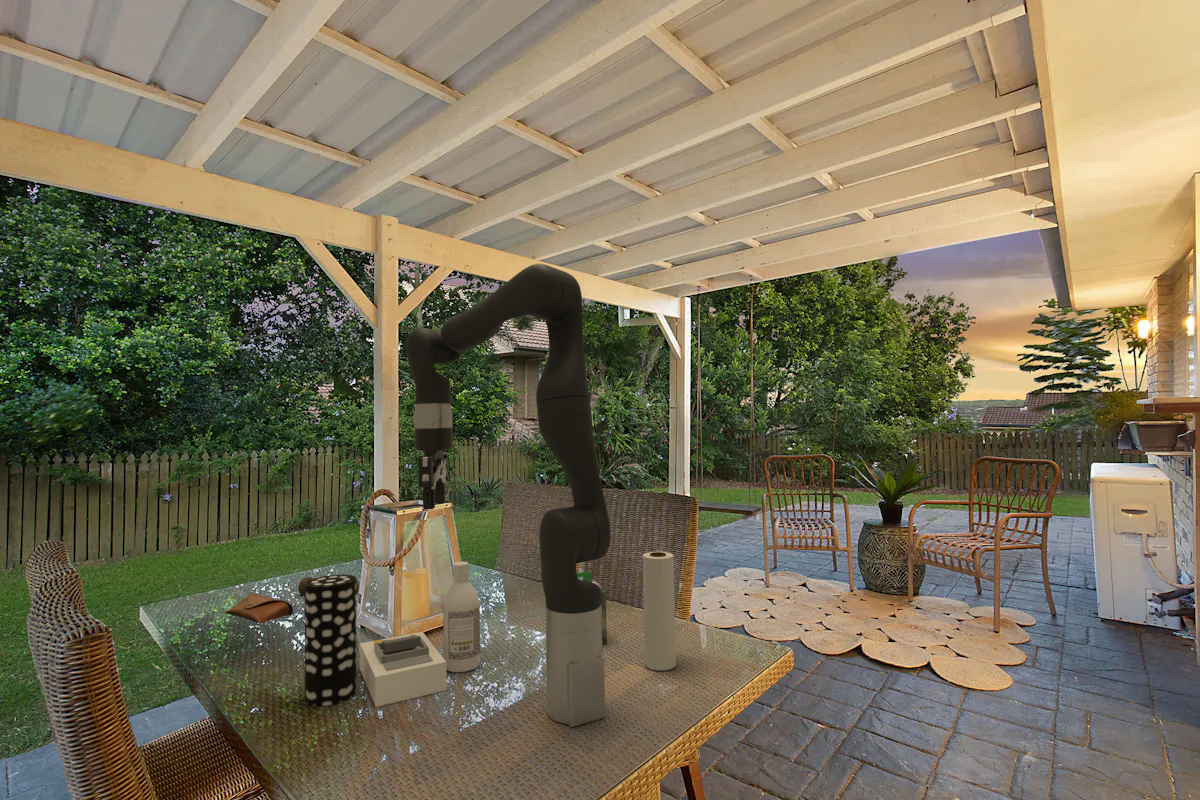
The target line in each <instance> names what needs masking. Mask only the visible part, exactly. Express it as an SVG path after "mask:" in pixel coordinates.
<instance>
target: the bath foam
mask: <svg viewBox="0 0 1200 800" xmlns="http://www.w3.org/2000/svg"><path fill="white" fill-rule="evenodd" d="M480 604H481V603H480V600H479V595H478V593H477V590H476V589H475V588H474V586H473V585H472V583H471V582H470V564H469V562H468V561H456V562H454V563H453V583H452V584H451V586H450V587H449V589H448V591H447V593H446V595H445V597H444V600H443V608H442V609H443V610H442V613H443V616H442V617H443V618H442V619H443V621H442V624H443V625H442V626H443V628H442V629H443V631H442V632H443V658H444V659H445V661H446V671H448V672H450V673H465V672H469V671H473V670H475V669H476V668H478V667H479V666H480V663H481V622H480V621H481V613H480V611H481V609H480V608H481V606H480Z"/></svg>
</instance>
